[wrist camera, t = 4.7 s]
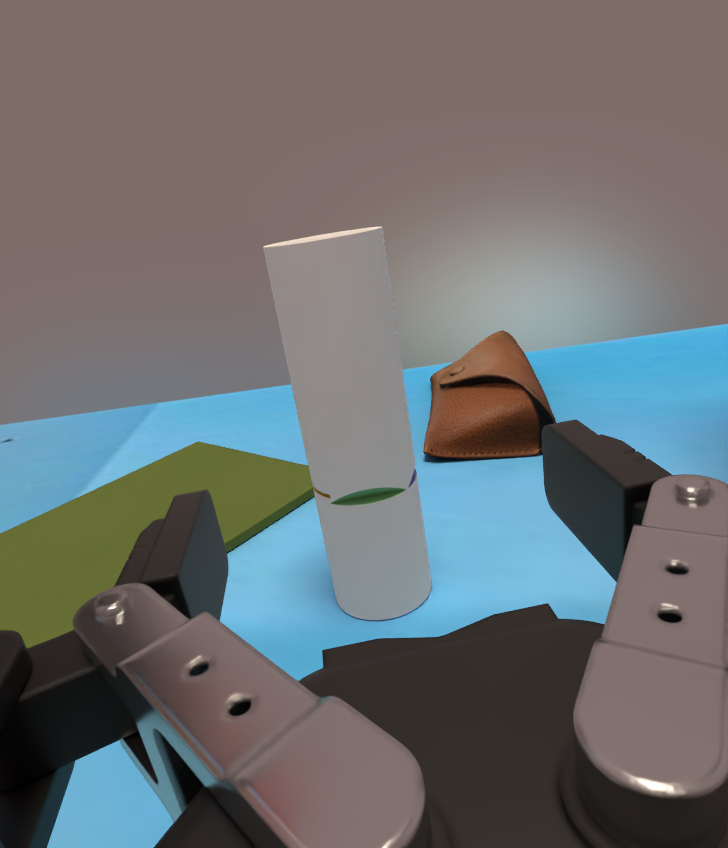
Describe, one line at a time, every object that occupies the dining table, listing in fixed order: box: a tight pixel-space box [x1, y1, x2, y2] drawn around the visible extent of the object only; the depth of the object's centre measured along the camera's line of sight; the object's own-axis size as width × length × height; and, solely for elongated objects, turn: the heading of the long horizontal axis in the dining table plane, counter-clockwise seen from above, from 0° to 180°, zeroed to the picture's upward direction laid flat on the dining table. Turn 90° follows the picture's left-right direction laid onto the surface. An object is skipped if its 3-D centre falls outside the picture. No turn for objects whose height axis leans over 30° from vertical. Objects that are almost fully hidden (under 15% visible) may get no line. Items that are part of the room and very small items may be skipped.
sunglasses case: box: [424, 331, 556, 459], centre depth 44 cm, size 18×7×7 cm, turn 174°
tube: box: [263, 227, 432, 620], centre depth 23 cm, size 4×4×15 cm
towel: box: [0, 442, 315, 648], centre depth 34 cm, size 21×15×1 cm
